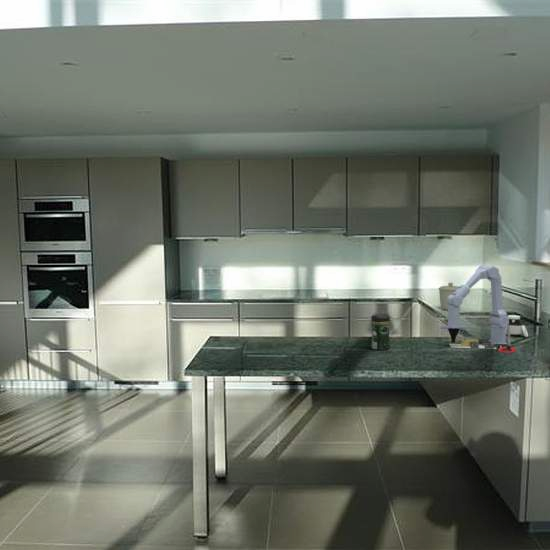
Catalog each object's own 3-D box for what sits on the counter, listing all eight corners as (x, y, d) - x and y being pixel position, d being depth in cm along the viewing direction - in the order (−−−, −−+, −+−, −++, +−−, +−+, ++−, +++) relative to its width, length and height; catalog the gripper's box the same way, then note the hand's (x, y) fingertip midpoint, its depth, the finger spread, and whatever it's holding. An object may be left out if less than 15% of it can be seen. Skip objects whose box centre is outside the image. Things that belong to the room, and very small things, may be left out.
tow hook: (513, 355, 284) (517, 350, 291) (513, 329, 282) (518, 326, 289) (495, 353, 289) (500, 349, 296) (495, 328, 287) (501, 324, 294)
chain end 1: (468, 344, 305) (468, 340, 304) (476, 344, 304) (476, 340, 304) (471, 348, 296) (471, 343, 296) (479, 348, 296) (479, 343, 296)
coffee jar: (383, 346, 304) (383, 312, 302) (392, 349, 297) (392, 314, 295) (368, 348, 300) (368, 313, 298) (376, 351, 293) (377, 315, 291)
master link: (461, 345, 303) (461, 338, 302) (477, 345, 301) (477, 338, 301) (462, 346, 300) (462, 339, 299) (478, 347, 298) (478, 339, 298)
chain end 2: (482, 345, 304) (482, 340, 303) (493, 345, 302) (493, 340, 302) (485, 348, 295) (485, 343, 295) (496, 348, 294) (496, 344, 294)
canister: (437, 311, 426) (437, 283, 424) (438, 307, 443) (438, 280, 441) (462, 311, 420) (463, 283, 419) (462, 308, 438) (463, 281, 436)
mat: (449, 344, 307) (449, 343, 307) (493, 345, 303) (493, 345, 303) (451, 348, 298) (451, 347, 298) (497, 349, 294) (497, 348, 294)
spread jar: (503, 334, 335) (504, 314, 334) (522, 334, 335) (523, 314, 334) (511, 338, 323) (511, 318, 322) (531, 338, 323) (531, 318, 322)
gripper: (440, 318, 298) (440, 343, 299) (469, 318, 296) (468, 344, 297) (439, 316, 305) (438, 340, 306) (466, 316, 302) (466, 341, 304)
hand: (453, 342), depth 302 cm, fingers closed
